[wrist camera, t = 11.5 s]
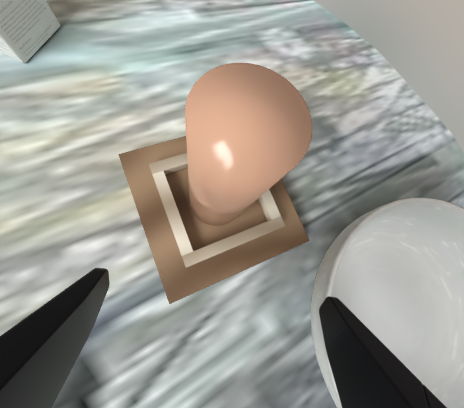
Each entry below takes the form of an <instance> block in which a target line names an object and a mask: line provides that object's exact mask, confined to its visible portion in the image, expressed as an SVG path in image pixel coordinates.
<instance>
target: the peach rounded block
mask: <svg viewBox="0 0 464 408" xmlns="http://www.w3.org/2000/svg"><path fill="white" fill-rule="evenodd" d="M185 122H186V142H187V161H188V180H189V199H190V206H191V209H192V211H193V213H194V215H195V216H196V217H197V218H198V219H199V220H200V221H202V222H203V223H205V224H208V225H212V226H221V225H225V224H227V223H230V222H231V221H233V220H234V219H235V218H236V217H237V216H238V215H239V214H241V213H242V212H243V211H244V210H245V209H246V208H248V207H249V206H250V205H251V204H252V203H253V202H255V201H256V200H257V199H258V198H259V197H260V196H261V195H263V194H264V193H265V192H266V191H267V190H268V189H270V188H271V187H272V186H273V185H274V184H275V183H277V182H278V181H279V180H280V179H281V178H282V177H283V176H285V175H286V174H287V173H288V172H289V171H290V170H292V169H293V168H294V167H295V166H296V165H297V164H298V163H299V162H300V161H301V160H302V159H303V157H304V156H305V154H306V152H307V150H308V148H309V145H310V142H311V137H312V121H311V116H310V112H309V109H308V107H307V105H306V102H305V101H304V99H303V97H302V96H301V94H300V93H299V92H298V90H297V89H296V88H295V87H294V86H293V85H292V84H291V83H290V82H289V81H288V80H287V79H285V78H284V77H282V76H281V75H280V74H278V73H276V72H274V71H272V70H270V69H268V68H265V67H262V66H259V65H255V64H250V63H231V64H226V65H222V66H219V67H216V68H214V69H212V70H210V71H209V72H207V73H205V74H204V75H203V76H202V77H201V78H200V79H199V80H198V81H197V82H196V83H195V84H194V86H193V87H192V89H191V91H190V93H189V95H188V98H187V102H186V108H185Z"/></svg>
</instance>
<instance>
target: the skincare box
mask: <svg viewBox="0 0 464 408" xmlns="http://www.w3.org/2000/svg"><path fill="white" fill-rule="evenodd" d="M59 27H60V23H59V22H58V20H57V18H56V16H55V15H54V13H53V11H52V10H51V8H50V6H49V4H48V3H47V1H46V0H0V51H1V52H3V53H5V54H7V55H9V56H11V57H13V58H15V59H17V60H19V61H21V62H23V63H26V62H27V61H28V60H29V59H30V58H31V57H32V56H33V55H34V54H35V53H36V51H37V50H38V49H39V48H40V47H41V46H42V45H43V44H44V43H45V42H46V41H47V40H48V39H49V38H50V37H51V36H52V35H53V34H54V33H55V32H56V30H57V29H58V28H59Z"/></svg>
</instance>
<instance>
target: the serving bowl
mask: <svg viewBox="0 0 464 408" xmlns="http://www.w3.org/2000/svg"><path fill="white" fill-rule="evenodd" d="M328 296H330V297H336V298H338V299H339V300H340V301H341V302H342V303H343V304H344V305H345V306H346V307H347V308H348V309H349V310H350V311H351V312H352V313H353V314H354V315H355V316H356V317H357V318H358V319H359V320H360V321H361V322H362V323H363V324H364V325H365V326H366V327H367V328H368V329H369V330H370V331H371V332H372V333H373V334H374V335H375V336H376V337H377V338H378V339H379V340H380V341H381V342H382V343H383V344H384V345H385V346H386V347H387V348H388V349H389V350H390V351H391V352H392V353H393V354H394V355H395V356H396V357H397V358H398V359H399V360H400V361H401V362H402V363H403V364H404V365H405V366H406V367H407V368H408V369H409V370H410V371H411V372H412V373H413V374H414V375H415V376H416V377H417V378H418V379H419V380H420V381H421V382H422V384H423V385H425V386H426V387H427V388H428V389H429V390H430V391H431V392H432V393H433V394H434V395H435V396H436V397H437V398H438V399H439V400H440V401H441V402H442V403H443V404H444V405H445V406H446V407H447V408H464V208H462V207H459V206H457V205H454V204H452V203H449V202H446V201H442V200H438V199H431V198H407V199H401V200H397V201H393V202H390V203H388V204H385V205H383V206H380V207H378V208H376V209H374V210H372V211H370V212H368V213H366V214H364V215H362V216H361V217H359V218H358V219H356V220H355V221H353V222H352V223H351V224H350V225H348V226H347V227H346V228H345V229H344V230H343V231H342V232H341V233H340V234H339V235H338V236H337V237H336V239H335V240H334V241H333V242H332V244H331V245H330V247H329V248H328V250H327V251H326V253H325V255H324V257H323V259H322V261H321V263H320V266H319V269H318V271H317V274H316V278H315V281H314V286H313V292H312V300H311V328H312V337H313V343H314V348H315V352H316V357H317V360H318V364H319V367H320V370H321V373H322V375H323V378H324V381H325V383H326V386H327V388H328V390H329V392H330V394H331V397H332V399H333V401H334V402H335V404H336V406H337V408H342V405H341V402H340V398H339V395H338V391H337V388H336V384H335V381H334V377H333V374H332V370H331V367H330V363H329V359H328V356H327V352H326V348H325V343H324V338H323V332H322V327H321V321H320V316H319V308H320V306H321V304H322V303H323V301H324V300H325V298H326V297H328Z"/></svg>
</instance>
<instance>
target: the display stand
mask: <svg viewBox="0 0 464 408" xmlns="http://www.w3.org/2000/svg"><path fill="white" fill-rule="evenodd" d="M119 157H120V160H121V163H122V166H123V169H124V172H125V175H126V178H127V181H128V183H129V186H130V189H131V192H132V195H133V198H134V201H135V204H136V207H137V210H138V213H139V216H140V219H141V222H142V225H143V228H144V231H145V234H146V236H147V239H148V242H149V245H150V248H151V251H152V254H153V257H154V260H155V263H156V266H157V269H158V272H159V275H160V278H161V281H162V284H163V286H164V289H165V292H166V295H167V298H168V301H169V304H171V303H173V302H175V301H177V300H179V299H182V298H184V297H186V296H188V295H190V294H193V293H195V292H197V291H199V290H202V289H204V288H206V287H208V286H210V285H213V284H215V283H217V282H219V281H221V280H224V279H226V278H228V277H230V276H232V275H235V274H237V273H239V272H241V271H243V270H246V269H248V268H250V267H252V266H255V265H257V264H259V263H261V262H263V261H266V260H268V259H270V258H272V257H274V256H277V255H279V254H281V253H283V252H285V251H288V250H290V249H292V248H294V247H296V246H299V245H301V244H303V243H305V242H308V241H309V239H308V236H307V234H306V232H305V230H304V228H303V225H302V223H301V221H300V219H299V217H298V214H297V212H296V210H295V208H294V205H293V203H292V201H291V199H290V197H289V194H288V192H287V190H286V188H285V186H284V183H283V181H282V179H280V180H279V181H278V182H277V183H275V184H274V185H273V186H272V187H271V188H270V189H268V190H267V191H266V192H265V193H264V194H263V195H261V196H260V197H259V198H258V199H257V200H256V201H255V202H253V203H252V204H251V205H250V206H249V207H248V208H246V209H245V210H244V211H243V212H242V213H241V214H239V215H238V216H237V217H236V218H235V219H234V220H233V221H231V222H230V223H227V224H225V225H221V226H212V225H208V224H205V223H203V222H202V221H200V220H199V219H198V218H197V217H196V216H195V215H194V213H193V211H192V209H191V206H190V199H189V180H188V161H187V142H186V136H185V137H181V138H178V139H174V140H170V141H166V142H163V143H159V144H155V145H152V146H148V147H144V148H141V149H137V150H133V151H130V152H126V153H122V154H119Z"/></svg>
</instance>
